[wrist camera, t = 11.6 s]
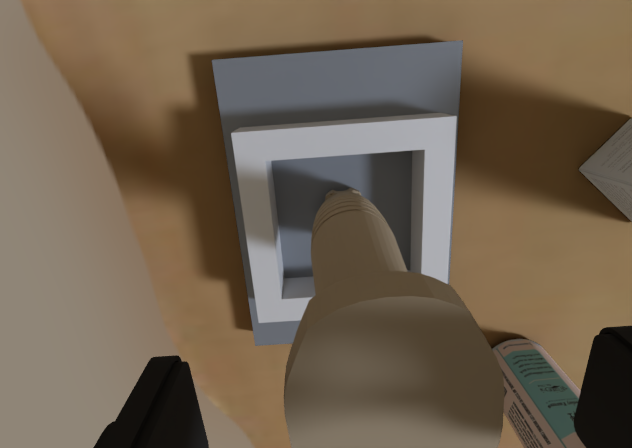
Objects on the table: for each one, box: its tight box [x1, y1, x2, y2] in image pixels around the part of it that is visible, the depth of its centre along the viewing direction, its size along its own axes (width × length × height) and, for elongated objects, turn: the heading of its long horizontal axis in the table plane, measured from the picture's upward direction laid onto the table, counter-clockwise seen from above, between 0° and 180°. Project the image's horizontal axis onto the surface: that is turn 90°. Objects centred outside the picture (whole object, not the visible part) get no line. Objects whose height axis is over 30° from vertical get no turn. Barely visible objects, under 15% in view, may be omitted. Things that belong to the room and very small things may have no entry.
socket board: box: [212, 40, 463, 346], centre depth 22 cm, size 18×13×4 cm
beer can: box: [492, 339, 586, 448], centre depth 23 cm, size 5×5×12 cm
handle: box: [284, 188, 505, 448], centre depth 16 cm, size 5×6×15 cm
